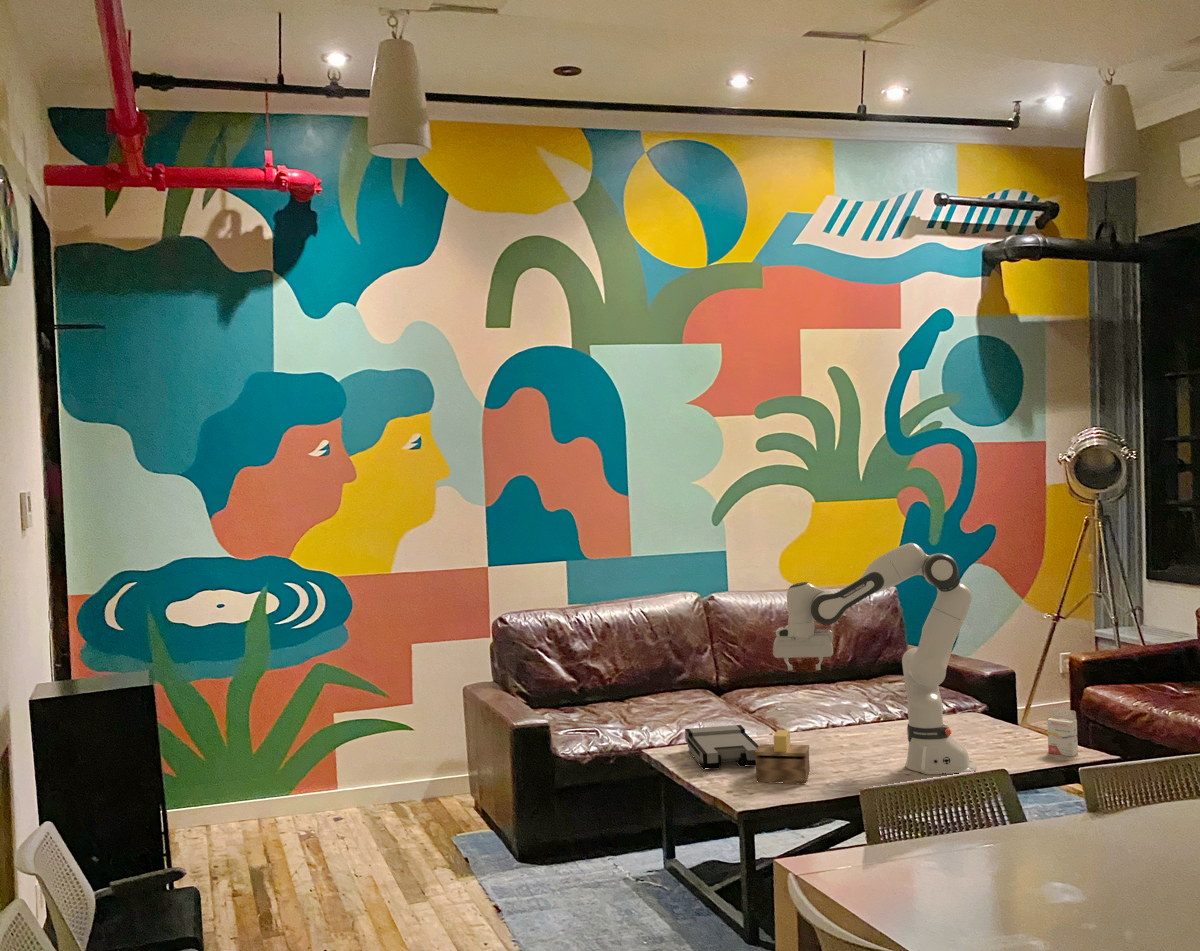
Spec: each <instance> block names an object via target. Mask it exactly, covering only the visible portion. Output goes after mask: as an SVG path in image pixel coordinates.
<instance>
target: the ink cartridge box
mask: <svg viewBox="0 0 1200 951" xmlns="http://www.w3.org/2000/svg"><path fill="white" fill-rule="evenodd" d="M1051 711H1052V716H1051V717H1050V718H1048V719H1047V745H1048V746H1047V749H1048V750H1047V751H1048V753H1049V754H1054V755H1059V756H1060V755H1061V756H1067V757H1075V755H1076V756H1077V754H1079V747H1078V745H1079V744H1078V742H1079V741H1078V720H1077V712H1076V711H1075V710H1068V709H1061V708H1056V707H1053V708H1052V709H1051ZM1061 713H1062V714H1061ZM1063 713H1064V714H1063Z"/></svg>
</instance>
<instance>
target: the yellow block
mask: <svg viewBox="0 0 1200 951" xmlns="http://www.w3.org/2000/svg"><path fill="white" fill-rule="evenodd" d="M773 744H774V752H787V750H788V749H789V747H790V745H791V731H790V729H789V730H787V729H777V730H776V731H775V733H774V735H773Z"/></svg>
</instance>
